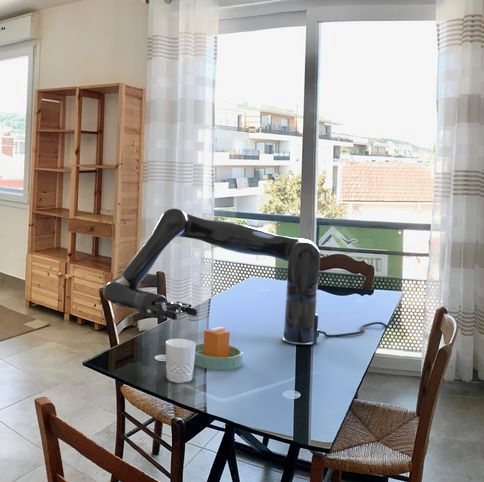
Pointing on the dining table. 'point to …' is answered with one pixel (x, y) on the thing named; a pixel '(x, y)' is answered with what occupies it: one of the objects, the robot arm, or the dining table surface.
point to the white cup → (180, 360)
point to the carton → (216, 342)
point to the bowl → (218, 359)
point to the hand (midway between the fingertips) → (186, 314)
